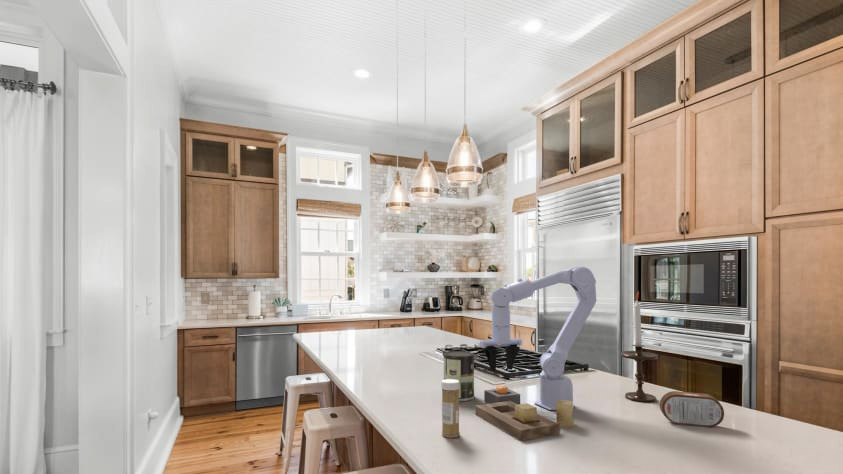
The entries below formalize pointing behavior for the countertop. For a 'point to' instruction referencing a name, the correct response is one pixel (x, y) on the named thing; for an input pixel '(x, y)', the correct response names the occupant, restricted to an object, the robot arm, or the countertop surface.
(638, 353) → the candlestick
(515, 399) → the button housing
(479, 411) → the wooden socket board
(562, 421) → the loose billet
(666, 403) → the tin
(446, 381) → the sprinkles bottle
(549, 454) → the countertop surface
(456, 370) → the coffee can
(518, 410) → the block
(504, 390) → the button
